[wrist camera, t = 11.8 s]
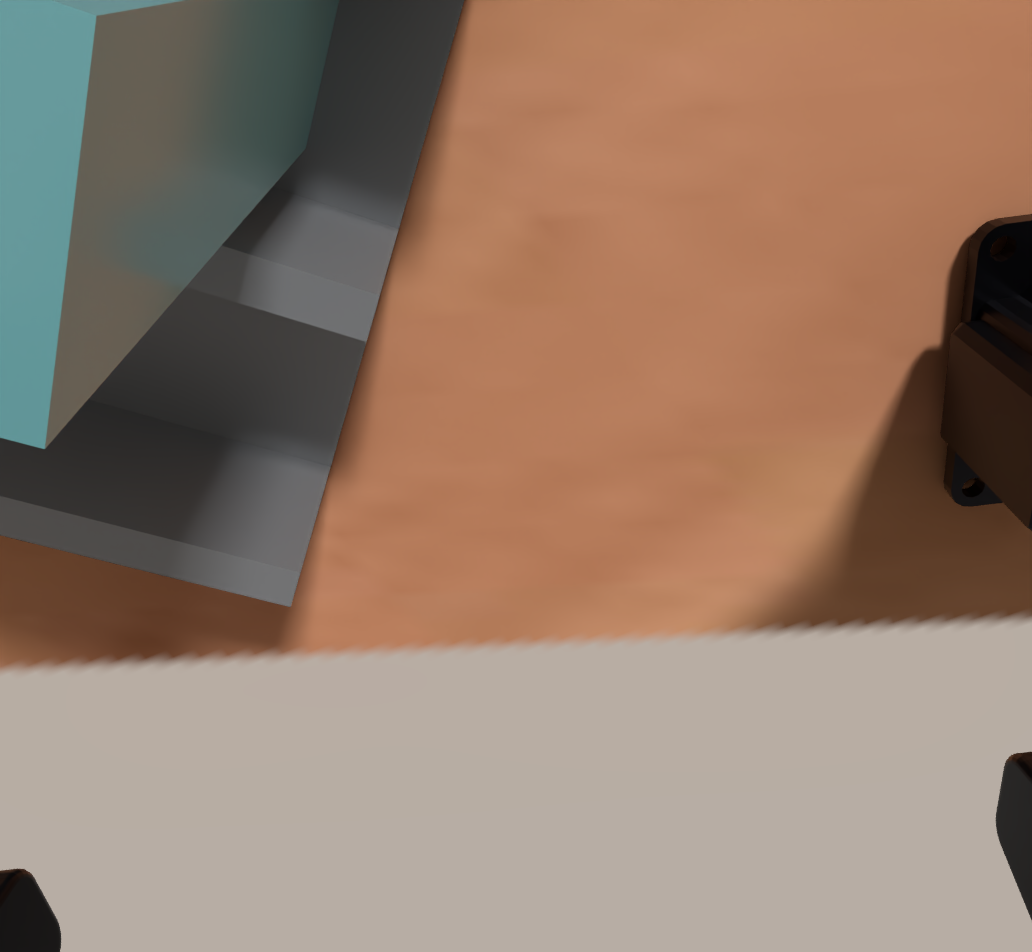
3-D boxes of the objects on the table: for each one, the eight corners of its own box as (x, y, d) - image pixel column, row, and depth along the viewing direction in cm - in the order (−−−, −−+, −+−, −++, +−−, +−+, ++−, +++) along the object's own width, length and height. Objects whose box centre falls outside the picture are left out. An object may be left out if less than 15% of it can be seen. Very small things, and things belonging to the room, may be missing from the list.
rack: (601, -481, 14) (654, -663, 10) (327, 479, 22) (290, 606, 18) (-124, -837, 12) (-438, -1245, 8) (-148, 349, 20) (-316, 456, 16)
